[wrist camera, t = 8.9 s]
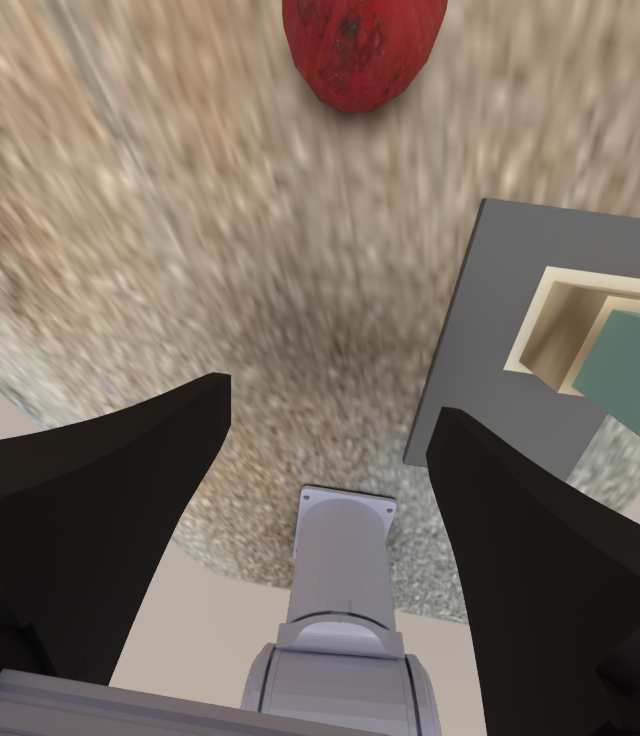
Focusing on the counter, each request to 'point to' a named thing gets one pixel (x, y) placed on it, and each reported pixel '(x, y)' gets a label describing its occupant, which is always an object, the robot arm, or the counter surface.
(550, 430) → the mat
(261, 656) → the robot arm
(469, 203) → the counter surface
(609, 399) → the teal block
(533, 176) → the counter surface
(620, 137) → the counter surface
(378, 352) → the counter surface
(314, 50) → the onion
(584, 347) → the maple block
